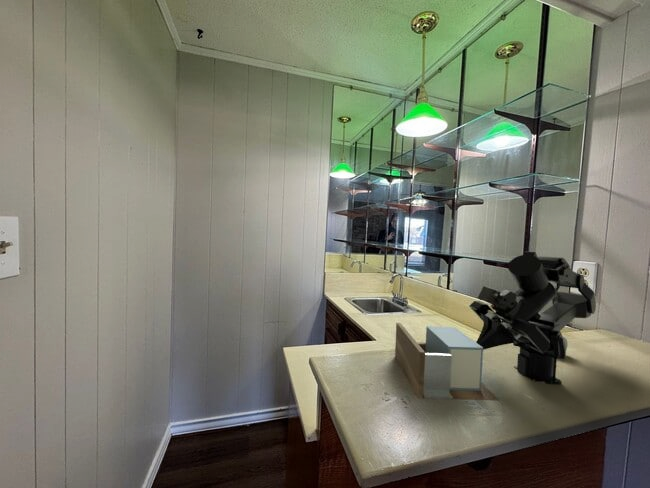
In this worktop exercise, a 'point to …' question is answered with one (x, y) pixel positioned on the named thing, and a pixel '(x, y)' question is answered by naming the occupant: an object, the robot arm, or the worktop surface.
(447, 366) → the bookend
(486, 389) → the shelf
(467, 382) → the light blue block
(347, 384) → the worktop surface
